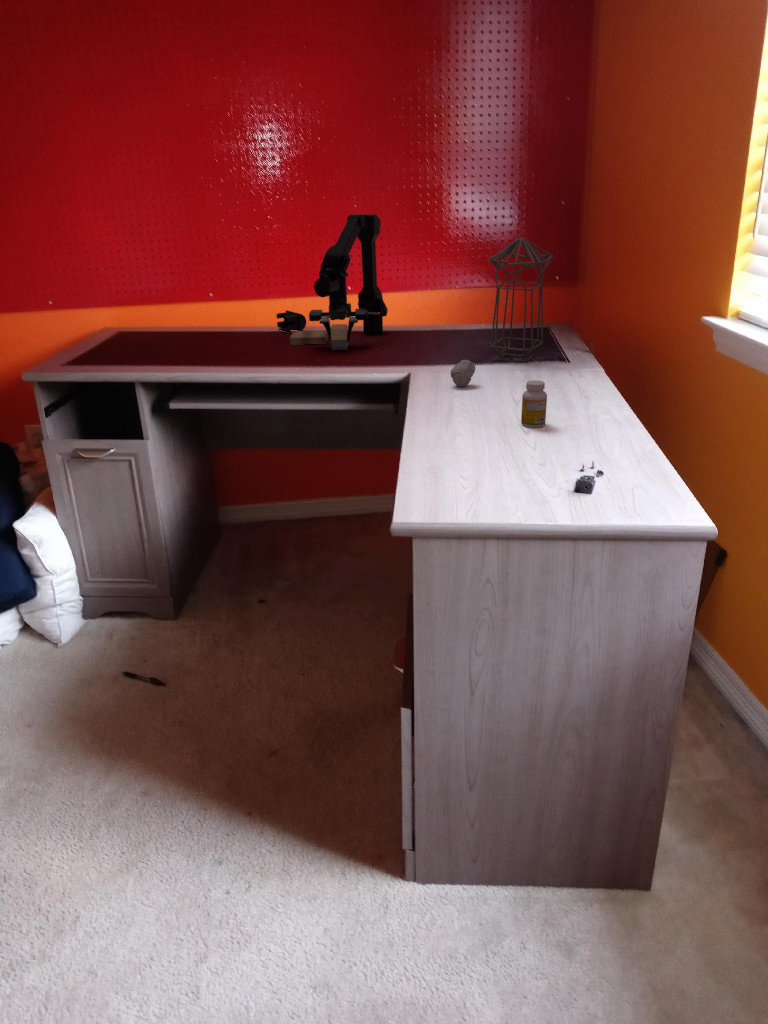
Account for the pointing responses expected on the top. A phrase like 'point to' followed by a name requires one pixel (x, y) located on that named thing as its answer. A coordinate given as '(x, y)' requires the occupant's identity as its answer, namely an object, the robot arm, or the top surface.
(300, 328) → the end cap
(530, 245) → the geometric lantern
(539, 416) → the supplement bottle
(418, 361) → the top surface
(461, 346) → the top surface
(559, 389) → the top surface
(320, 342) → the walnut stand
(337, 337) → the block
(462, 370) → the grey rock
